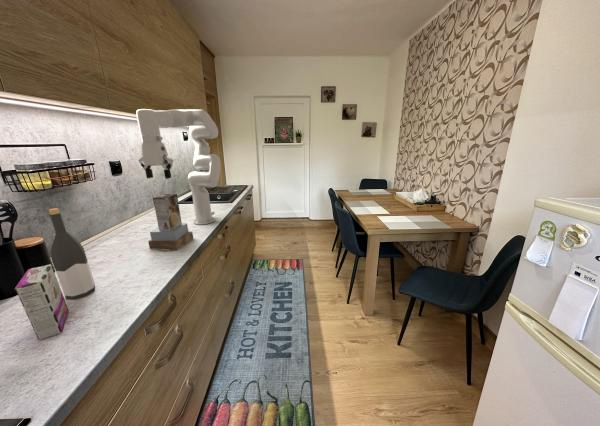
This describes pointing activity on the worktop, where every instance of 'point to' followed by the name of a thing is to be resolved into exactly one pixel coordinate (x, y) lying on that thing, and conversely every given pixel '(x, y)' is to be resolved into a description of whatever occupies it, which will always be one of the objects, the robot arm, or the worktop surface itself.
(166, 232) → the tower top slab
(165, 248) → the tower base slab
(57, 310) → the candy bar box
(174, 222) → the coffee box
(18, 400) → the worktop surface
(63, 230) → the wine bottle
